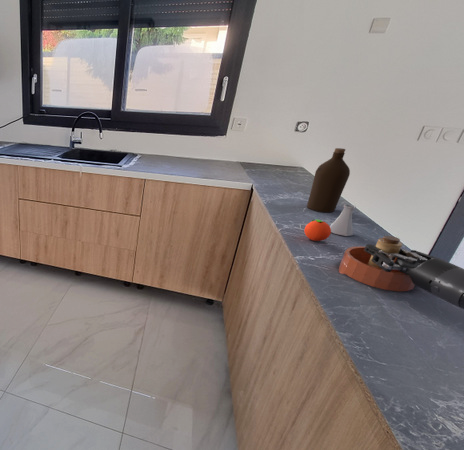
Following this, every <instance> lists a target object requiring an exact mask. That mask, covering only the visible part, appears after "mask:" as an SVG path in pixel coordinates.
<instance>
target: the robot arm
mask: <svg viewBox="0 0 464 450" xmlns="http://www.w3.org/2000/svg"><path fill="white" fill-rule="evenodd" d="M375 246H376V245H374V244H371V243H367V244H366V245H365V246H364V247H365V249H364V251H365V252H367V253H369V254H371V255H373V258H372V260H371V261H373V262H374V263H375V264H376V265H378V266H379V267H380V268H382V269H383V270H384V271H386V272H391V270H392V269H393V270H398V271H400V272H402V273H404V274H407V275H409V276H410V277H411V280H412V282H413V283H414V284H415V286H416V287H418V288H420V289H422V290H423V291H426V292H427V293H429V294H431V295H433V296H434V297H437V298H439V299H441V300H443V301H444V302H446V303H448V304H450V305H452V306H455V307H458V308H460V309H462V310H464V268H463V267H460V266H458V265H456V264H454V263H451V262H449V261H447V260H445V259H441V258H439V257H436V256H434V255H430V254H427V253H424V252H421V251H417V250H415V249H412V250H410V251H409V250H408V249H405V248H401V249H400V251H399V253H398V254H397V253H392V254H391V253H389V252H386V251H383V250H381V249H379V248H377V247H375ZM385 255H386V256H388V257H389V258H387V257H386V256H385ZM396 257H397V259H396V261H395V263H394V260H395V258H396Z"/></svg>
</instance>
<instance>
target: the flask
mask: <svg viewBox="0 0 464 450" xmlns="http://www.w3.org/2000/svg"><path fill="white" fill-rule="evenodd" d="M356 208H357V207H356V205H353V204H347V203H346V204H343V209H342V211H341V213H340V214H339V215H338V217H336V219H335V220H334V221H333V222H332V223H331V224H329V226H330V228H331V234H332V233H333V234H334V235H338V236H339V235H340V236H342V237H343V236H344V237H349V236H353V235H354V228H353V212H354V210H355V209H356Z"/></svg>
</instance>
